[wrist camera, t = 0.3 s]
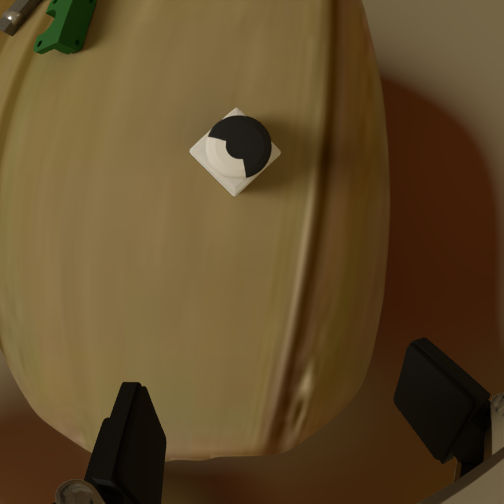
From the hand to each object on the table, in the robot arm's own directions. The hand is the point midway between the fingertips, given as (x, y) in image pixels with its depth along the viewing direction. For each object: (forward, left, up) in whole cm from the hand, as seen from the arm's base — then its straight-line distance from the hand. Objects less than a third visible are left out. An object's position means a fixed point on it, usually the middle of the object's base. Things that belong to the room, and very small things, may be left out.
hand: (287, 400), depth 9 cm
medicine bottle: (-8, -6, -31) cm, 33 cm away
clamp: (-11, -41, -31) cm, 53 cm away
